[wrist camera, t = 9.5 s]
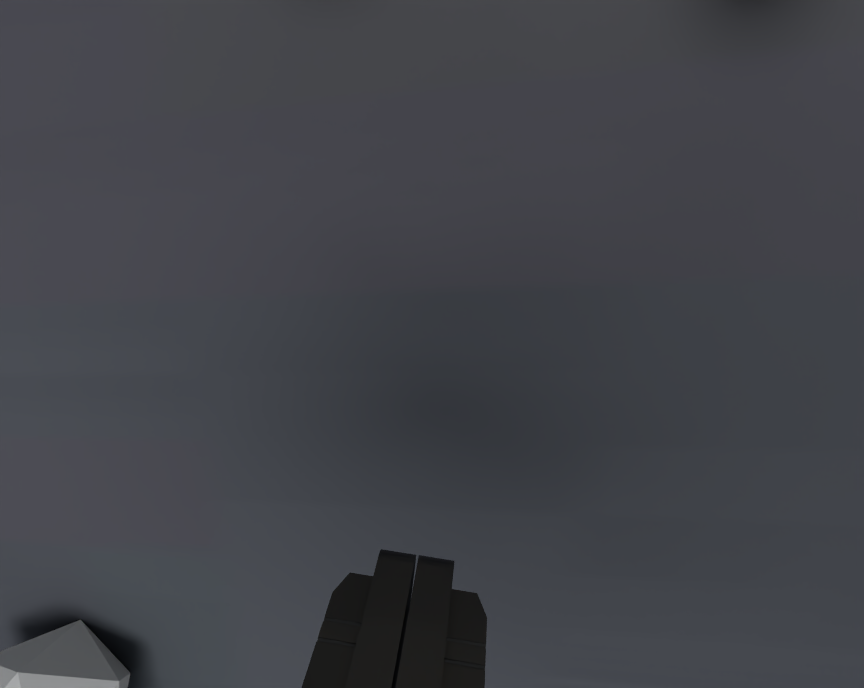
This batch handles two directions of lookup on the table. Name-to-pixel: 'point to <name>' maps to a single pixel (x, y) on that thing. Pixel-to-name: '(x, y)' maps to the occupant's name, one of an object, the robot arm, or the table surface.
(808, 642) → the table surface
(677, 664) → the table surface
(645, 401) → the table surface
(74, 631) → the die
